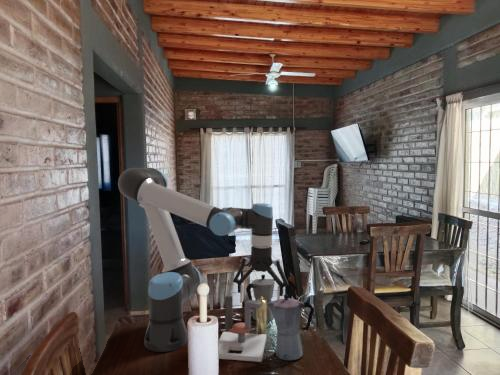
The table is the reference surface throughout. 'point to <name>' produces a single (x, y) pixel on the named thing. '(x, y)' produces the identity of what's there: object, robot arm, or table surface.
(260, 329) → the hook peg
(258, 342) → the base
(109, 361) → the table surface
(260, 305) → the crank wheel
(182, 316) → the robot arm
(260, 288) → the coffeepot
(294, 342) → the moka pot
